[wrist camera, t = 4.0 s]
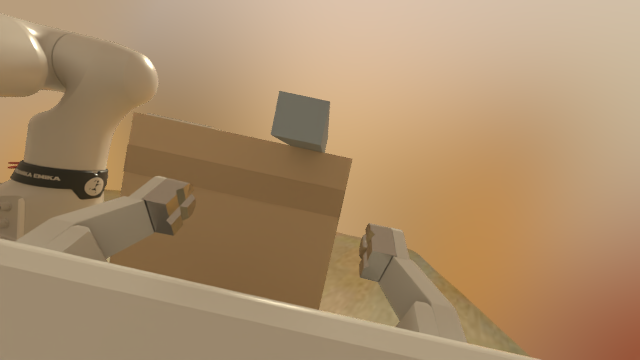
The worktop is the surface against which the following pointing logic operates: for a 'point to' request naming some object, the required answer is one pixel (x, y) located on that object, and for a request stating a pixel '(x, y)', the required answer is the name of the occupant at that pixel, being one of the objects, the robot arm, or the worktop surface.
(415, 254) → the worktop surface
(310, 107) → the batten
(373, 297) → the worktop surface
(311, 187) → the carton
